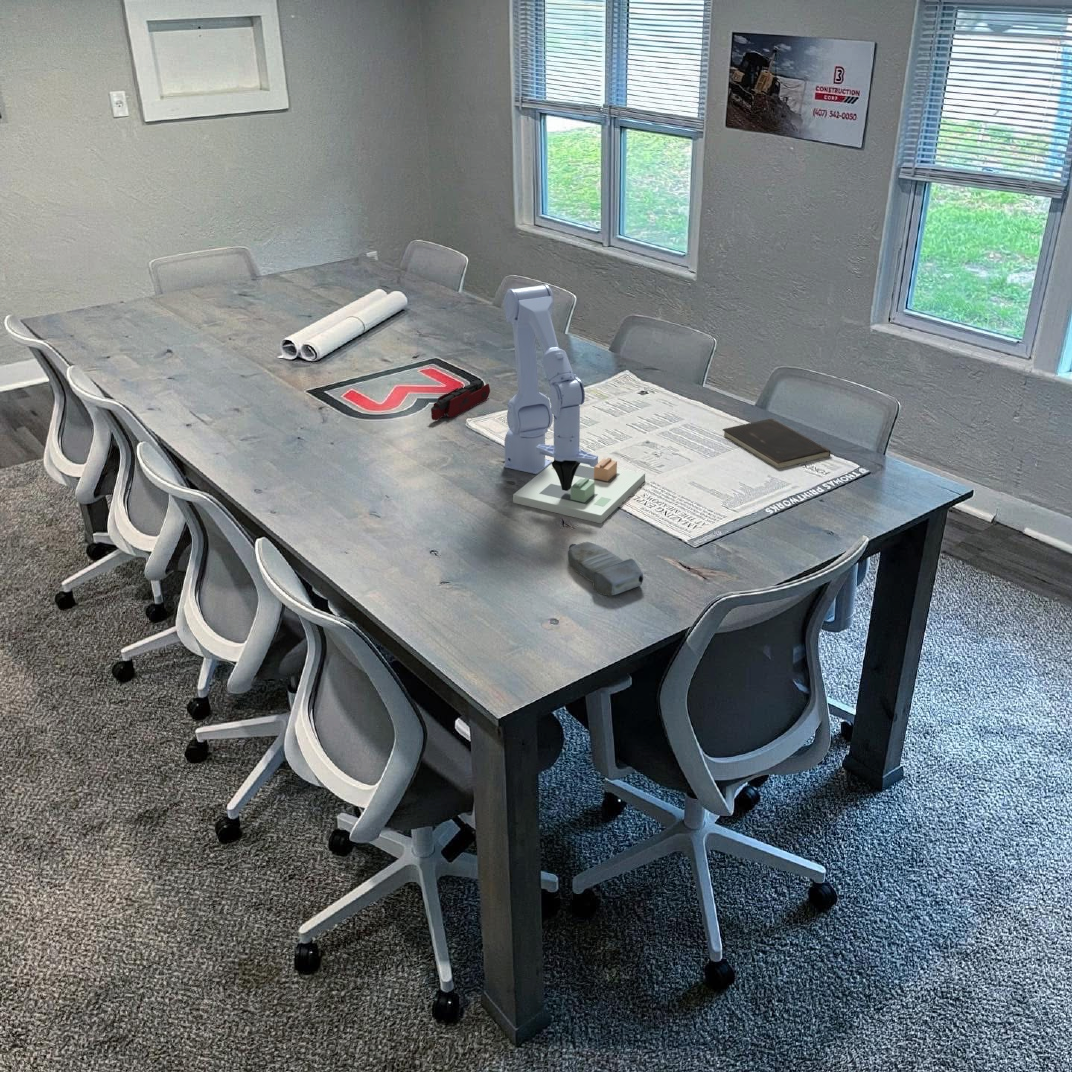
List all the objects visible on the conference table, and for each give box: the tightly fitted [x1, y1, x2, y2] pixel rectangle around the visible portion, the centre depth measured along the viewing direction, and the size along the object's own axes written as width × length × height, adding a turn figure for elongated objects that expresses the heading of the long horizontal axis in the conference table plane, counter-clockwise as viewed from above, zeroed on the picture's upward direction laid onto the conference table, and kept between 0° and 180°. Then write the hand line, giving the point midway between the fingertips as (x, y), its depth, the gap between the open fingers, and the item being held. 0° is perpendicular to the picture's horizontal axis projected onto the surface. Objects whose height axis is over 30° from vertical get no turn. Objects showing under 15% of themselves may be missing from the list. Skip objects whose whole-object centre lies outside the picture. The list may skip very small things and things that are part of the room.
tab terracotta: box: [594, 457, 618, 481], centre depth 245 cm, size 4×5×4 cm
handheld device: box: [567, 541, 644, 596], centre depth 211 cm, size 10×20×5 cm, turn 33°
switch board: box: [512, 463, 646, 524], centre depth 243 cm, size 22×24×2 cm
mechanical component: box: [430, 379, 491, 421], centre depth 288 cm, size 23×4×6 cm, turn 147°
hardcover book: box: [722, 418, 832, 469], centre depth 264 cm, size 16×23×2 cm
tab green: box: [571, 478, 595, 503], centre depth 235 cm, size 4×5×4 cm
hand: (566, 488), depth 238 cm, fingers closed
